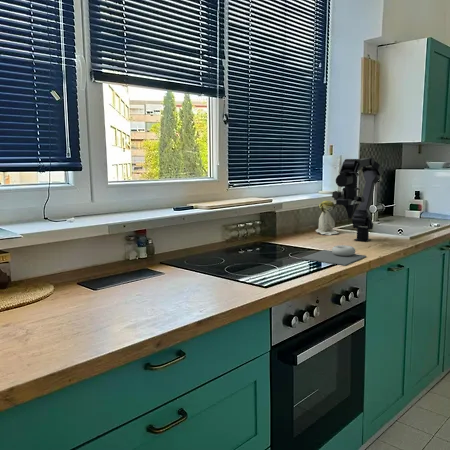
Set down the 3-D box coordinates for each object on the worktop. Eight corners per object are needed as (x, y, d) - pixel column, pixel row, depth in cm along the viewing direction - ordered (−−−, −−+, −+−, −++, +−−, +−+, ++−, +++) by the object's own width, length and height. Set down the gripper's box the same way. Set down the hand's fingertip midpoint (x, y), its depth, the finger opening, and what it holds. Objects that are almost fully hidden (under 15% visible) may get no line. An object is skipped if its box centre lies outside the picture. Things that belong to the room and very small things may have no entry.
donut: (359, 245, 194) (350, 250, 186) (358, 253, 194) (350, 258, 186) (337, 243, 200) (327, 247, 192) (337, 250, 200) (327, 255, 192)
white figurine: (319, 235, 241) (320, 202, 238) (312, 231, 254) (313, 199, 251) (341, 235, 242) (341, 201, 239) (333, 231, 255) (334, 199, 252)
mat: (324, 250, 203) (324, 249, 203) (366, 256, 190) (366, 255, 190) (301, 258, 188) (301, 257, 188) (345, 265, 175) (345, 264, 175)
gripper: (344, 184, 223) (343, 215, 226) (326, 186, 209) (325, 219, 212) (365, 184, 216) (364, 216, 218) (348, 187, 202) (347, 221, 204)
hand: (350, 218), depth 213 cm, fingers closed
